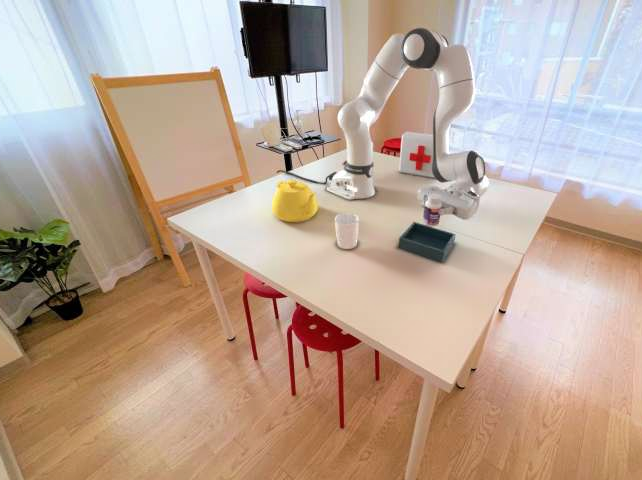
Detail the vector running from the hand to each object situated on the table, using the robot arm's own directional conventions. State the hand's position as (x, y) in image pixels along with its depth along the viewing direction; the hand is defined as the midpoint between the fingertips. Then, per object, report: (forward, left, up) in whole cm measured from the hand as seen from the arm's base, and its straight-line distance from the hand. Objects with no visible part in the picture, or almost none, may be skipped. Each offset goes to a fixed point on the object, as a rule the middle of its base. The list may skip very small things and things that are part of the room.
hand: (431, 209), depth 97 cm
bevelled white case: (-27, +60, -15) cm, 67 cm away
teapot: (-52, -6, -15) cm, 54 cm away
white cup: (-24, -13, -15) cm, 31 cm away
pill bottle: (0, +1, -6) cm, 6 cm away
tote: (0, +1, -15) cm, 15 cm away
